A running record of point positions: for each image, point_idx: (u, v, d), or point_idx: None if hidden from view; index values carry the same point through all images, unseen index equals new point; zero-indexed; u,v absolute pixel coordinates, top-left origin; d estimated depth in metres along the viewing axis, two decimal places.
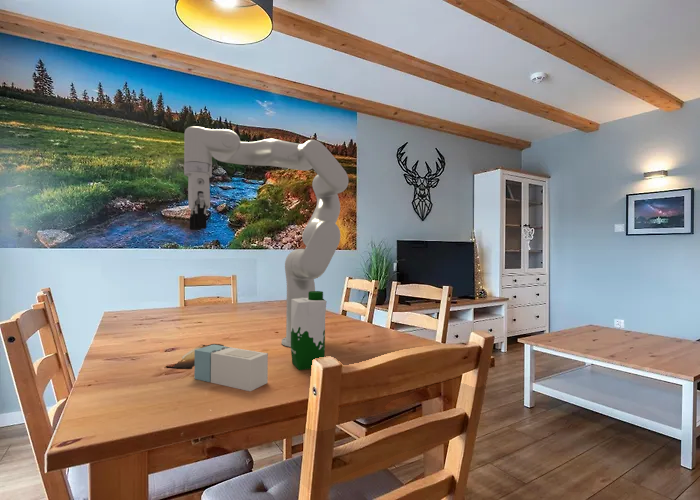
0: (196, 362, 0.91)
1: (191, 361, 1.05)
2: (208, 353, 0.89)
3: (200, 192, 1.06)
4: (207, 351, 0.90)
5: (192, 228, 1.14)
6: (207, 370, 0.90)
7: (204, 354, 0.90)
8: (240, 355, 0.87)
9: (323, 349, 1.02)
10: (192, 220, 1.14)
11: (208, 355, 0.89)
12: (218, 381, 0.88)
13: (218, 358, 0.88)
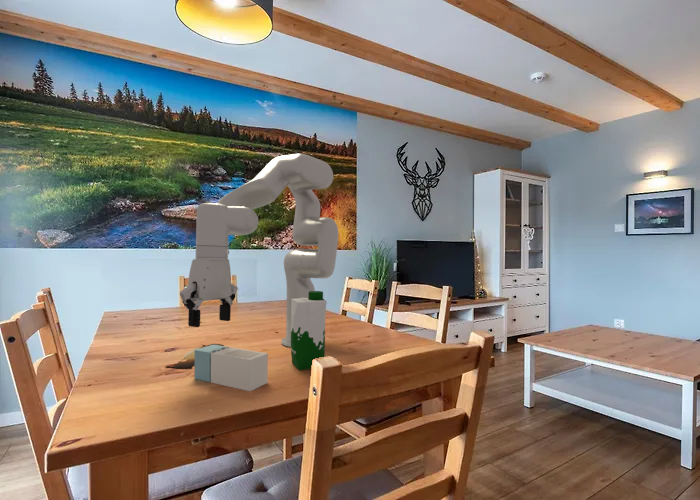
0: (196, 362, 0.91)
1: (191, 361, 1.05)
2: (208, 353, 0.89)
3: None
4: (207, 351, 0.90)
5: None
6: (207, 370, 0.90)
7: (204, 354, 0.90)
8: (240, 355, 0.87)
9: (323, 349, 1.02)
10: None
11: (208, 355, 0.89)
12: (218, 381, 0.88)
13: (218, 358, 0.88)
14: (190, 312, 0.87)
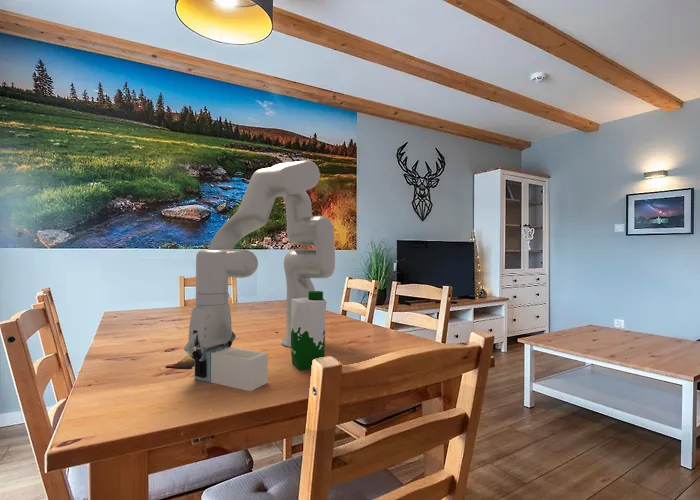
0: None
1: (191, 361, 1.05)
2: (208, 353, 0.89)
3: None
4: (207, 351, 0.90)
5: None
6: (207, 370, 0.90)
7: None
8: (240, 355, 0.87)
9: (323, 349, 1.02)
10: None
11: (208, 355, 0.89)
12: (218, 381, 0.88)
13: (218, 358, 0.88)
14: (196, 363, 0.89)
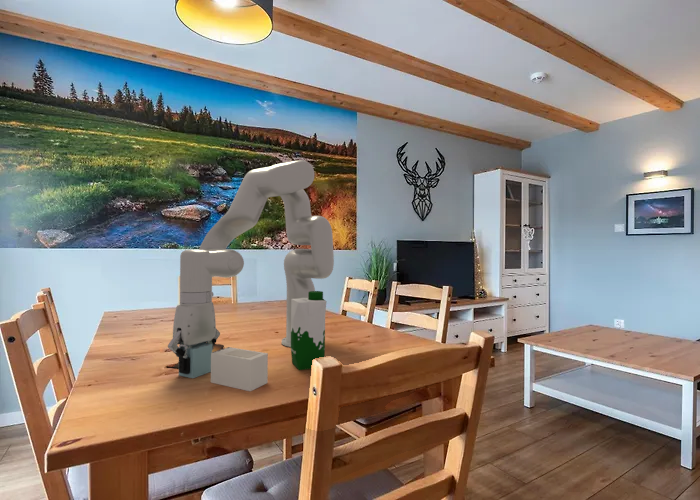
0: None
1: None
2: (191, 350, 0.92)
3: None
4: (191, 348, 0.93)
5: None
6: (190, 366, 0.92)
7: None
8: (240, 355, 0.87)
9: (323, 349, 1.02)
10: None
11: (191, 352, 0.92)
12: (218, 381, 0.88)
13: (218, 358, 0.88)
14: (180, 360, 0.92)
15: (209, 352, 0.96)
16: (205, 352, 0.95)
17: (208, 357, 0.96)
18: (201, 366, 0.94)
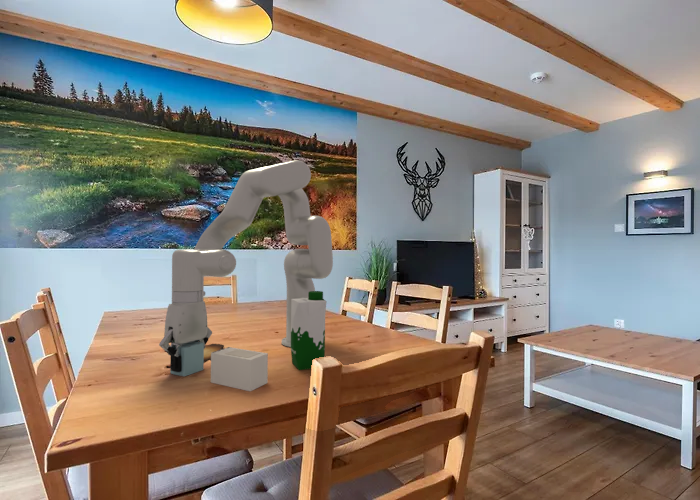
0: None
1: None
2: (183, 348, 0.93)
3: None
4: (182, 347, 0.94)
5: None
6: (182, 364, 0.93)
7: None
8: (240, 355, 0.87)
9: (323, 349, 1.02)
10: None
11: (183, 350, 0.93)
12: (218, 381, 0.88)
13: (218, 358, 0.88)
14: (172, 358, 0.93)
15: (201, 351, 0.98)
16: (197, 350, 0.97)
17: (200, 355, 0.97)
18: (193, 364, 0.96)
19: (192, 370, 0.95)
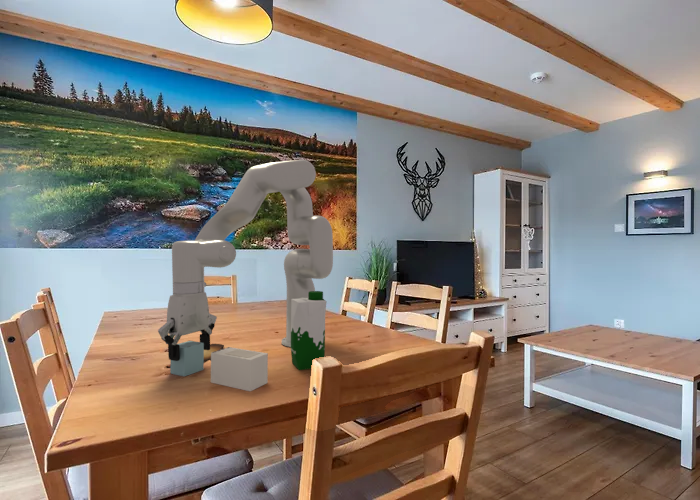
0: None
1: None
2: (183, 348, 0.93)
3: None
4: (182, 347, 0.94)
5: None
6: (182, 364, 0.93)
7: None
8: (240, 355, 0.87)
9: (323, 349, 1.02)
10: None
11: (183, 350, 0.93)
12: (218, 381, 0.88)
13: (218, 358, 0.88)
14: (169, 347, 0.92)
15: (201, 351, 0.98)
16: (197, 350, 0.97)
17: (200, 355, 0.97)
18: (193, 364, 0.96)
19: (192, 370, 0.95)
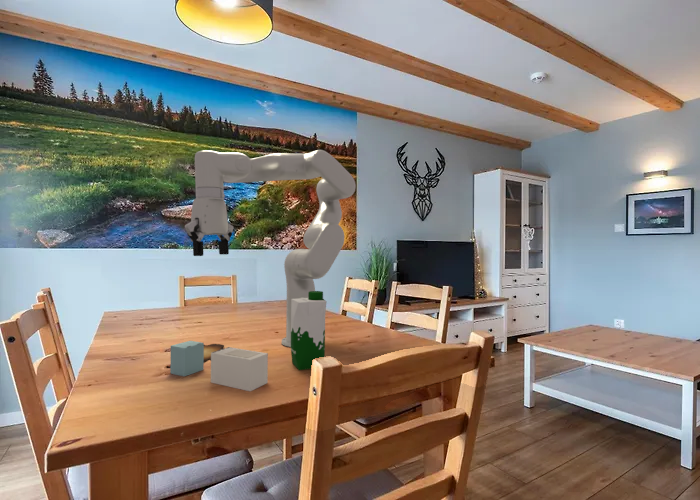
0: (172, 357, 0.95)
1: None
2: (183, 348, 0.93)
3: None
4: (182, 347, 0.94)
5: None
6: (182, 364, 0.93)
7: (179, 349, 0.94)
8: (240, 355, 0.87)
9: (323, 349, 1.02)
10: None
11: (183, 350, 0.93)
12: (218, 381, 0.88)
13: (218, 358, 0.88)
14: (194, 243, 1.03)
15: (201, 351, 0.98)
16: (197, 350, 0.97)
17: (200, 355, 0.97)
18: (193, 364, 0.96)
19: (192, 370, 0.95)
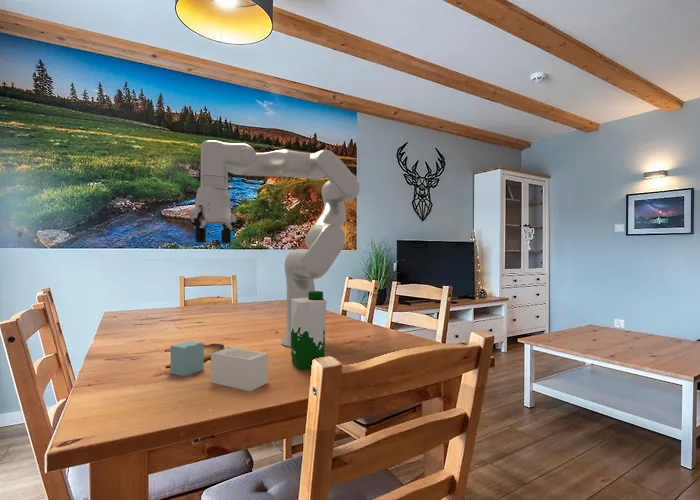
0: (172, 357, 0.95)
1: None
2: (183, 348, 0.93)
3: None
4: (182, 347, 0.94)
5: None
6: (182, 364, 0.93)
7: (179, 349, 0.94)
8: (240, 355, 0.87)
9: (323, 349, 1.02)
10: None
11: (183, 350, 0.93)
12: (218, 381, 0.88)
13: (218, 358, 0.88)
14: (197, 230, 1.05)
15: (201, 351, 0.98)
16: (197, 350, 0.97)
17: (200, 355, 0.97)
18: (193, 364, 0.96)
19: (192, 370, 0.95)
